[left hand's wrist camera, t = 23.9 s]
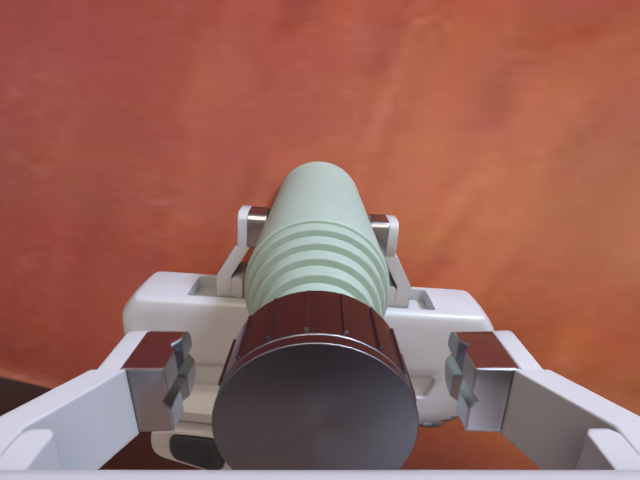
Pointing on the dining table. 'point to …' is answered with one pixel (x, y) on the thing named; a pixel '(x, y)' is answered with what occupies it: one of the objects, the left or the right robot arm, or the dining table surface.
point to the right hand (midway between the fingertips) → (318, 213)
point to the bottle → (317, 242)
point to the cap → (315, 389)
